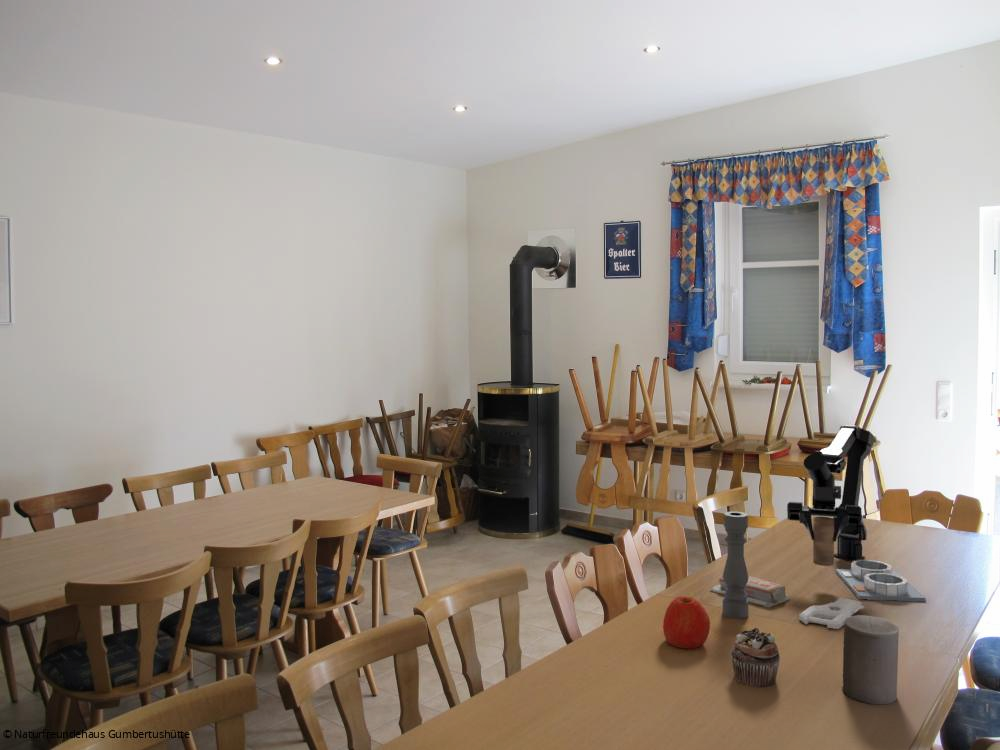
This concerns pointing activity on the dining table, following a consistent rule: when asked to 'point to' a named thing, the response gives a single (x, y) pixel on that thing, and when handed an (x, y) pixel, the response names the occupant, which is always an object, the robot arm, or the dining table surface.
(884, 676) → the pillar candle
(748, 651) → the cupcake
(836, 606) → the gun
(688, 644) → the apple
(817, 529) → the walnut peg
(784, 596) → the packaged product
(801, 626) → the dining table surface
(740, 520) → the candle holder
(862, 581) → the socket board
